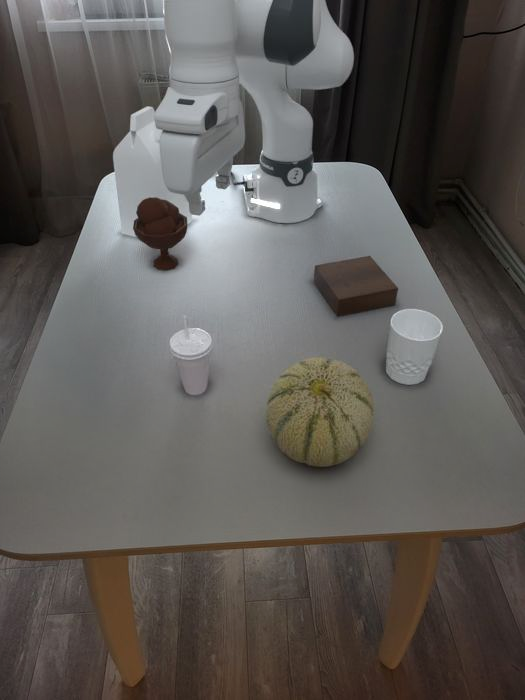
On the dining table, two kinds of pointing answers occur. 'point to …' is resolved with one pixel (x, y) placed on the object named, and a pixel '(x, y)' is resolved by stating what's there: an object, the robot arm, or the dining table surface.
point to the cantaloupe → (320, 412)
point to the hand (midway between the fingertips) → (211, 199)
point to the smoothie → (192, 357)
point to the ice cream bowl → (160, 229)
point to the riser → (354, 285)
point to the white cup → (412, 345)
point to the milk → (142, 170)
